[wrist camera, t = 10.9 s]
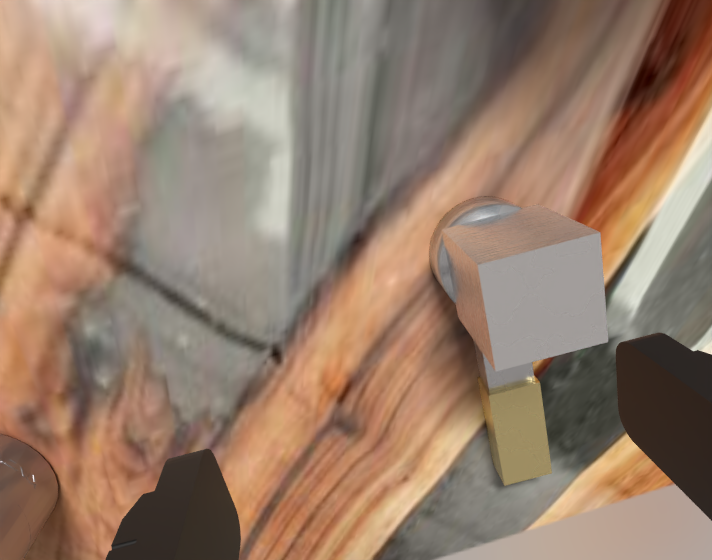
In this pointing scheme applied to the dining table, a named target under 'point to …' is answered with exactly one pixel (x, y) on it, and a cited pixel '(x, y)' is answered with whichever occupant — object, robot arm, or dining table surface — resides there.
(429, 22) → the dining table surface
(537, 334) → the brushed steel cube
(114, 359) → the dining table surface
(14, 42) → the dining table surface
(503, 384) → the ratchet
